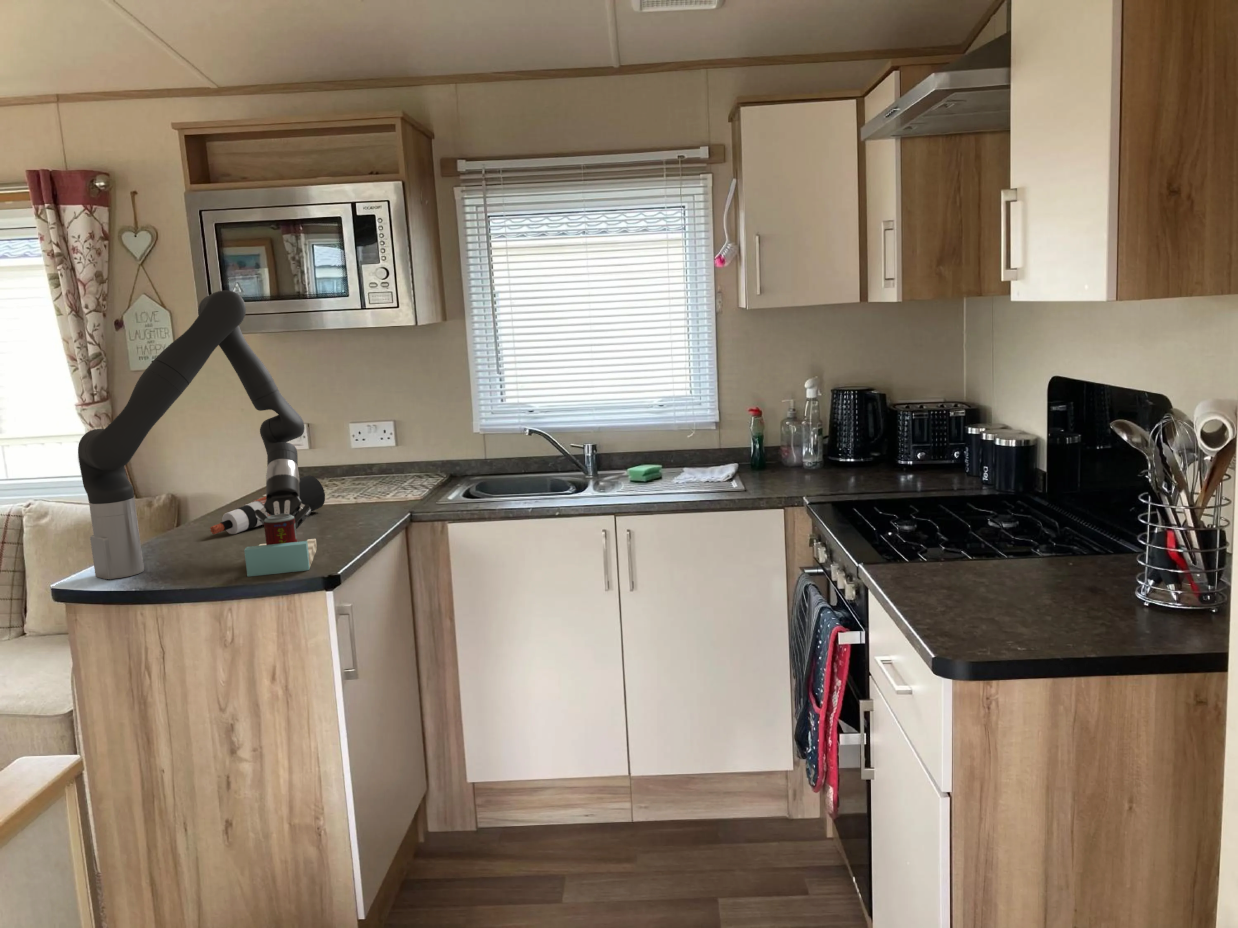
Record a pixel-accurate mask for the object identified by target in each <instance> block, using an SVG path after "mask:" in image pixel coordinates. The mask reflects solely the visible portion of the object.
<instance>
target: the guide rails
mask: <svg viewBox="0 0 1238 928" xmlns="http://www.w3.org/2000/svg"><path fill="white" fill-rule="evenodd" d="M306 541H307V542H308V552H309V566H310V567H311V565H312V563H313V560H314V558H315V555H316V552H317V550H318V549H317V548H318V546H317V539H316V538H310V539H306ZM261 545H266V543H259V545H258V546H261Z"/></svg>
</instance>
